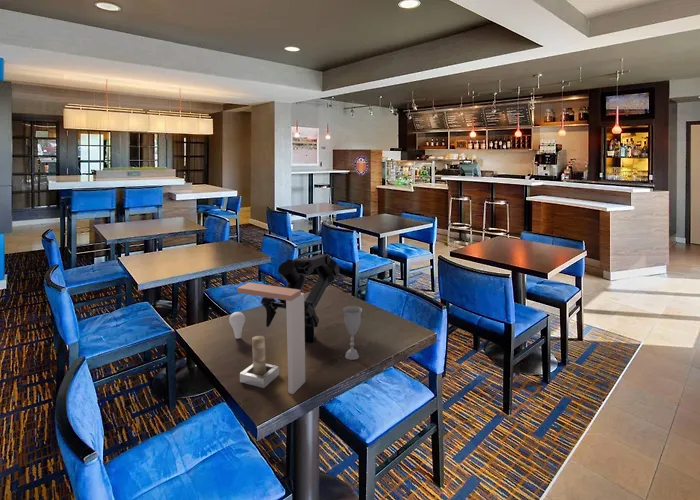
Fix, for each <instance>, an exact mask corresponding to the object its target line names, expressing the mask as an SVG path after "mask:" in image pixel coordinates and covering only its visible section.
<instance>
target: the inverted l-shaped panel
mask: <svg viewBox="0 0 700 500" xmlns="http://www.w3.org/2000/svg"><path fill="white" fill-rule="evenodd" d="M284 287H285V286H275V285H270V284H262V283H255V282H247V283H245V284H242V285H240V286H238V287H237V294H244V295H249V296H255V297H256V296H257V297H262V298H264V297H268V298H274V300H275V299H276V300H278V299H281V300H286V309H285V310H286V313H285V314H286V343H287V344H286V345H287V346H286V347H287V348H286V349H287V384H288V385H287V387H288V390H287V391H288V394H290V395H291V394H292V395H294V394H295V393H296V392H297V391H298V390H299V389H300V388H301V387H302V385H304V384H305V383H306V342H305V321H304V301H305V293H304V292H302V291H301V290H298V289H291V288H284Z"/></svg>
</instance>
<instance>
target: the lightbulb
mask: <svg viewBox="0 0 700 500" xmlns="http://www.w3.org/2000/svg"><path fill="white" fill-rule="evenodd" d="M228 322H229V324H230V326H231V327H232V329H233V334H234V338H235V339H237V340H238V339H240V338H242V332H243V326H244V325H245V322H246V316H245V314H243V313H242V312H241V311H234V312H233V313H231V315H229V318H228Z"/></svg>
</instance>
